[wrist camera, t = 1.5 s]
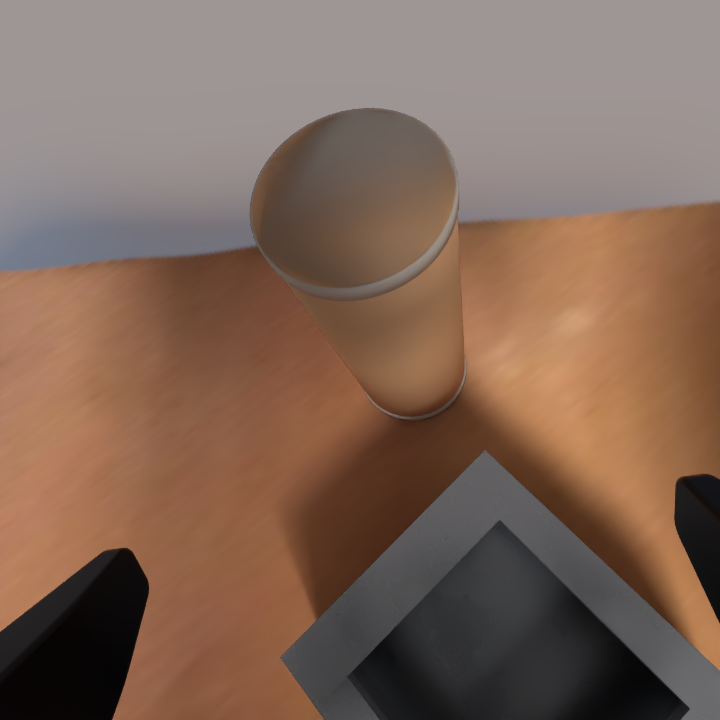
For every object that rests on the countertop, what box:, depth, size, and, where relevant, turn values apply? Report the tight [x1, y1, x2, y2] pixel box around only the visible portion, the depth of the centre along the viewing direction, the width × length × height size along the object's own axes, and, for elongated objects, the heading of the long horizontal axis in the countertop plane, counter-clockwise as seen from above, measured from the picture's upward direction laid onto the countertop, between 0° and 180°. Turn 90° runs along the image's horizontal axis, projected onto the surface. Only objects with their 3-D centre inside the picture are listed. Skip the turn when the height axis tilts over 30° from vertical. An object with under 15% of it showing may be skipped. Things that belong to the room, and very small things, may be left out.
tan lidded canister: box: [250, 108, 466, 421], centre depth 17 cm, size 5×5×12 cm
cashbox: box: [280, 450, 720, 720], centre depth 17 cm, size 10×9×4 cm
